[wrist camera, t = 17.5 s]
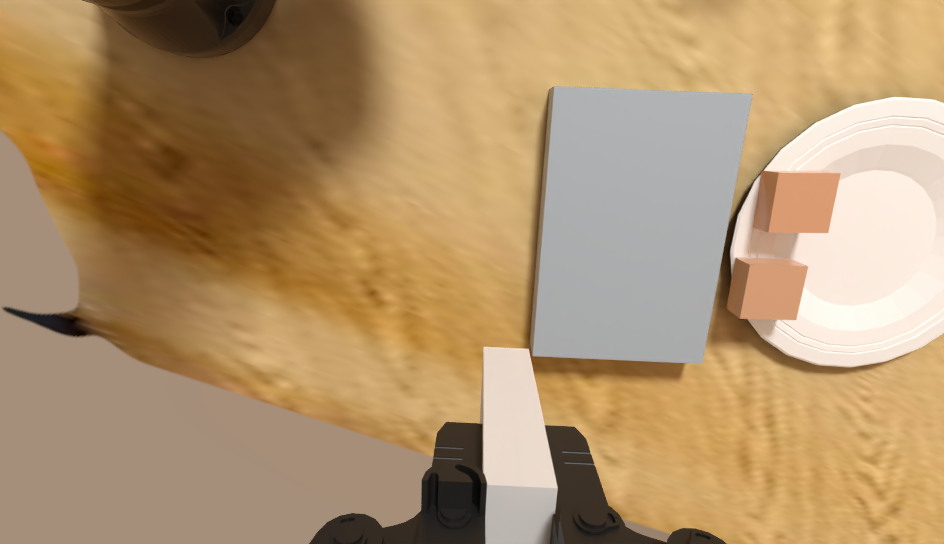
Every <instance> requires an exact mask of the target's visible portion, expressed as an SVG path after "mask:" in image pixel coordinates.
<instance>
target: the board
mask: <svg viewBox="0 0 944 544" xmlns="http://www.w3.org/2000/svg"><path fill="white" fill-rule="evenodd" d="M752 95H753V94H742V93H716V92H691V91H665V90H639V89H614V88H588V87H563V86H554V87H552V88H551V89H549V102H548V115H547V127H546V140H545V153H544V166H543V179H542V192H541V204H540V217H539V230H538V243H537V256H536V269H535V281H534V294H533V307H532V320H531V333H530V347H531V351H532V356H540V357H562V358H584V359H606V360H628V361H649V362H671V363H693V364H702V362H703V357H704V351H705V346H706V341H707V335H708V330H709V325H710V319H711V314H712V309H713V303H714V298H715V293H716V287H717V282H718V277H719V271H720V266H721V261H722V255H723V250H724V245H725V239H726V234H727V229H728V223H729V218H730V213H731V207H732V202H733V196H734V191H735V186H736V180H737V175H738V170H739V164H740V159H741V154H742V148H743V143H744V138H745V132H746V127H747V122H748V116H749V111H750V106H751V100H752Z"/></svg>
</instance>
